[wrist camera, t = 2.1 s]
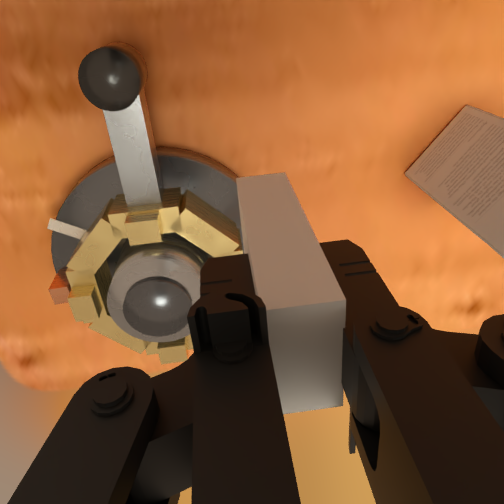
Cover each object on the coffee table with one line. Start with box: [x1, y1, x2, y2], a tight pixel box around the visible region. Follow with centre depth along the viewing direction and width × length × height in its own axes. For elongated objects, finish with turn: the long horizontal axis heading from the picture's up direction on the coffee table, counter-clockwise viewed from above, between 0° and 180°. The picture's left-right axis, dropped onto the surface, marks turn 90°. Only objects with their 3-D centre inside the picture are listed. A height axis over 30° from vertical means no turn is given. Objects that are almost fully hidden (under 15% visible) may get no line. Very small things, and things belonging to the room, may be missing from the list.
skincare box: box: [405, 105, 504, 258], centre depth 25 cm, size 6×4×12 cm
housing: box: [47, 147, 244, 342], centre depth 29 cm, size 15×15×8 cm
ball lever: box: [66, 42, 243, 364], centre depth 26 cm, size 19×11×4 cm, turn 5°
